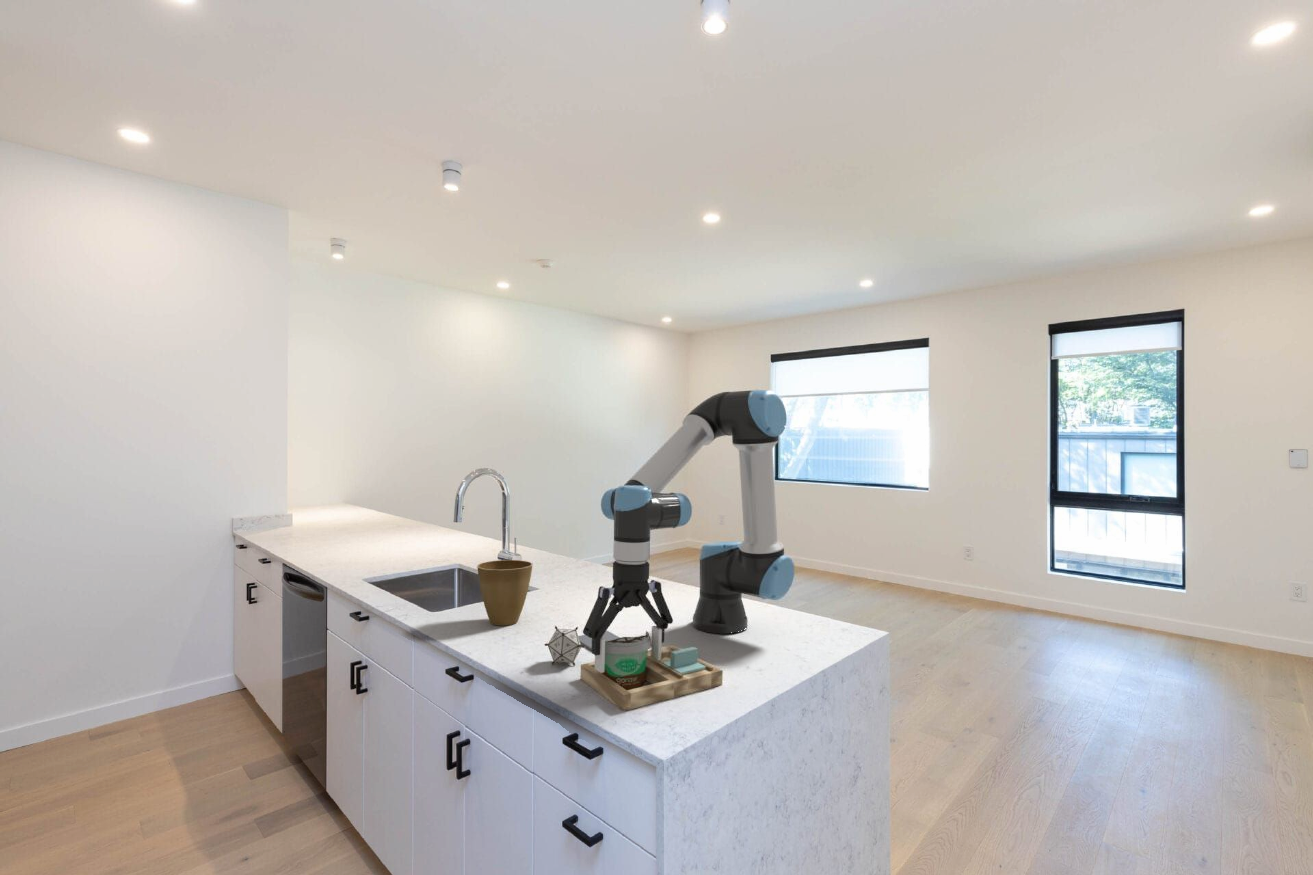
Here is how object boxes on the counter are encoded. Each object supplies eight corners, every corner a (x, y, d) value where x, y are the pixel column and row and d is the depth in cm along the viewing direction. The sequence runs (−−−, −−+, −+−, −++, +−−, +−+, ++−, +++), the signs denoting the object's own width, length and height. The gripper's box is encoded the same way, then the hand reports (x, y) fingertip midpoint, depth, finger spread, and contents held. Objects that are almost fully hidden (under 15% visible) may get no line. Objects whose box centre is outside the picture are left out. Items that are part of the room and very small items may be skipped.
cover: (686, 658, 132) (687, 642, 132) (706, 668, 127) (706, 652, 127) (661, 664, 128) (662, 648, 129) (680, 675, 123) (681, 657, 123)
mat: (607, 632, 159) (607, 630, 159) (640, 651, 146) (640, 648, 146) (573, 639, 153) (573, 636, 153) (603, 658, 140) (603, 655, 140)
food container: (606, 698, 118) (607, 647, 118) (594, 687, 124) (595, 638, 124) (661, 687, 124) (662, 639, 124) (647, 677, 129) (648, 630, 130)
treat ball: (667, 668, 135) (668, 654, 135) (675, 672, 132) (676, 658, 132) (656, 670, 133) (657, 657, 133) (664, 675, 131) (664, 661, 131)
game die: (566, 682, 135) (561, 656, 129) (540, 661, 139) (534, 635, 133) (593, 655, 140) (590, 628, 134) (567, 635, 145) (563, 609, 139)
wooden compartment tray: (672, 658, 141) (673, 642, 141) (722, 684, 126) (722, 667, 126) (580, 678, 128) (580, 661, 128) (623, 710, 113) (624, 691, 113)
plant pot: (542, 620, 169) (543, 563, 169) (502, 633, 157) (504, 572, 157) (505, 611, 177) (506, 556, 177) (464, 623, 165) (465, 564, 165)
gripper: (670, 553, 134) (667, 648, 134) (568, 562, 120) (565, 669, 120) (690, 558, 128) (688, 659, 128) (585, 569, 114) (582, 682, 114)
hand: (628, 664), depth 124 cm, fingers open, 13 cm apart
